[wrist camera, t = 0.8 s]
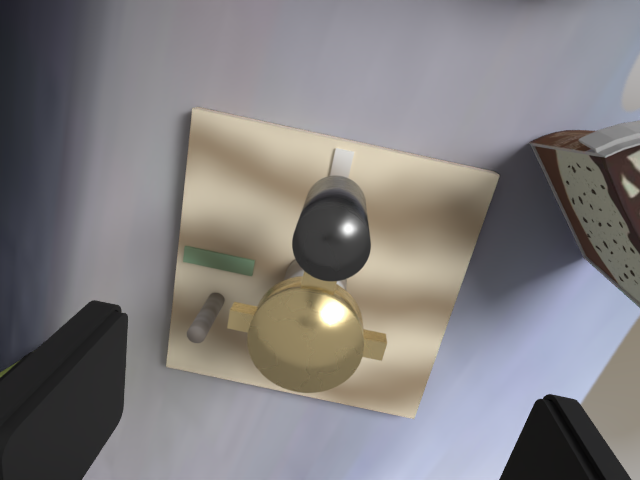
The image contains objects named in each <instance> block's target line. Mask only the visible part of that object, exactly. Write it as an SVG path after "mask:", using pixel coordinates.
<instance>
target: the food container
mask: <svg viewBox="0 0 640 480" xmlns="http://www.w3.org/2000/svg"><path fill="white" fill-rule="evenodd" d="M529 143H530V145H531V147H532V149H533V151H534V154H535V156H536V158H537V160H538V162H539V164H540V166H541V168H542V171H543V173H544V175H545V177H546V179H547V181H548V183H549V185H550V188H551V190H552V192H553V194H554V196H555V198H556V200H557V202H558V204H559V207H560V209H561V211H562V213H563V215H564V217H565V219H566V221H567V224H568V226H569V228H570V230H571V232H572V234H573V236H574V238H575V241H576V243H577V245H578V247H579V249H580V251H581V253H582V255H583V258H584V259H586V260H587V261H588V262H589V263H590V264H591V265H592V266H593V267H595V268H596V269H597V270H598V271H599V272H600V273H601V274H602V275H604V276H605V277H606V278H607V279H608V280H609V281H610V282H611V283H613V284H614V285H615V286H616V287H617V288H618V289H619V290H620V291H622V292H623V293H624V294H625V295H626V296H627V297H628V298H629V299H631V300H632V301H633V302H634V303H635V304H636V305H637V306H638V307H640V121H634V122H628V123H621V124H617V125H614V126H611V127H607V128H604V129H601V130H598V131H586V130H566V131H560V132H554V133H551V134H548V135H545V136H542V137H540V138H537V139H535V140H533V141H531V142H529Z"/></svg>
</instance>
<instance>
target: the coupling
mask: <svg viewBox="0 0 640 480" xmlns="http://www.w3.org/2000/svg"><path fill="white" fill-rule="evenodd" d="M292 249H293V254H294V257H295V259H296V261H297V263H298V264H299V266H300V267H301V268H302V269H303V270H304V274H303V276H298V277H293V278H289V279H286V280H283V281H281V282H279V283H277V284H276V285H274V286H273V287H271V288H270V289H269V290H268V291H267V292H266V293H265V294H264V296H263V297H262V298H261V300H260V302H259V304H258V306H252V305H248V304H243V303H238V302H234V303H233V305H232V307H231V309H230V313H229V319H228V326H227V328H228V329H233V330H238V331H242V332H247V333H248V335H247V345H248V350H249V354H250V357H251V359H252V361H253V363H254V365H255V366H256V368H257V369H258V370H259V371H260V372H261V374H262V375H263V376H265V377H266V378H267V379H268V380H269V381H271V382H272V383H274V384H276V385H278V386H280V387H282V388H284V389H287V390H291V391H294V392H301V393H317V392H323V391H326V390H330V389H332V388H335V387H337V386H339V385H340V384H342V383H344V382H345V381H346V380H348V379H349V378H350V377H351V376H352V375H353V374H354V372H355V371H356V370H357V368H358V366H359V364H360V362H361V360H362V357H365V358H370V359H375V360H379V361H382V359H383V356H384V352H385V349H386V346H387V338H386V334H384V333H380V332H375V331H370V330H365V329H363V319H362V315H361V311H360V309H359V306H358V305H357V303H356V301H355V300H354V299H353V297H352V296H351V295H350V294H349V293H348V292H347V291H346V290H345V289H344V288H342V287H341V286H339V285H338V284H336V283H337V281H341V280H345V279H347V278H350V277H352V276H353V275H355V274H356V273H358V272H359V271H360V270H361V269H362V268H363V267H364V265H365V264H366V262H367V260H368V258H369V255H370V250H371V240H370V232H369V224H368V215H367V207H366V200H365V196H364V193H363V191H362V189H361V188H360V187H359V186H358V185H357V183H355V182H354V181H353V180H351V179H349V178H347V177H344V176H337V175H334V176H328V177H325V178H322V179H320V180H319V181H317V182H316V183H315V184H314V185H313V186H312V187H311V188H310V190H309V192H308V194H307V197H306V200H305V202H304V205H303V208H302V211H301V214H300V217H299V220H298V223H297V225H296V228H295V231H294V234H293V239H292Z"/></svg>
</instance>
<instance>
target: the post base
mask: <svg viewBox="0 0 640 480" xmlns="http://www.w3.org/2000/svg"><path fill="white" fill-rule="evenodd" d="M334 175H337V176H344V177H347V178H349V179H351V180H353V181H354V182H355V183H357V185H358V186H359V187H360V188H361V189H362V191H363V193H364V196H365V200H366V207H367V215H368V224H369V232H370V240H371V250H370V255H369V258H368V260H367V262H366V264H365V265H364V267H363V268H362V269H361V270H360V271H359V272H358V273H356V274H355V275H353V276H352V277H350V278H347V279H345V280H341V281H337V283H336V284H338V285H339V286H341V287H342V288H344V289H345V290H346V291H347V292H348V293H349V294H350V295H351V296H352V297H353V299H354V300H355V301H356V303H357V305H358V306H359V309H360V311H361V315H362V319H363V329H365V330H370V331H375V332H380V333H384V334H386V338H387V346H386V349H385V352H384V356H383V359H382V361H379V360H375V359H370V358H365V357H362V360H361V362H360V364H359V366H358V368H357V370H356V371H355V372H354V374H353V375H352V376H351V377H350V378H349V379H348V380H346V381H345V382H344V383H342V384H340V385H339V386H337V387H335V388H332V389H330V390H326V391H323V392H317V393H301V392H294V391H291V390H287V389H284V388H282V387H280V386H278V385H276V384H274V383H272V382H271V381H269V380H268V379H267V378H266V377H265V376H263V375H262V374H261V372H260V371H259V370H258V369H257V368H256V366H255V365H254V363H253V361H252V359H251V357H250V354H249V350H248V345H247V335H248V333H247V332H242V331H238V330H233V329H228V328H227V326H228V319H229V313H230V309H231V307H232V305H233V303H234V302H238V303H243V304H248V305H252V306H258V304H259V302H260V300H261V298H262V297H263V296H264V294H265V293H266V292H267V291H268V290H269V289H270V288H271V287H273V286H274V285H276V284H277V283H279V282H281V281H283V280H286V279H289V278H293V277H298V276H303V274H304V270H303V269H302V268H301V267H300V266H299V264H298V263H297V261H296V259H295V257H294V254H293V249H292V239H293V234H294V231H295V228H296V225H297V223H298V220H299V217H300V214H301V211H302V208H303V205H304V202H305V200H306V197H307V194H308V192H309V190H310V188H311V187H312V186H313V185H314V184H315V183H316V182H317V181H319V180H320V179H322V178H325V177H328V176H334ZM499 176H500V175H499V174H497V173H496V172H494V171H490V170H485V169H481V168H476V167H471V166H467V165H462V164H458V163H453V162H448V161H444V160H439V159H435V158H430V157H425V156H421V155H416V154H412V153H407V152H403V151H398V150H393V149H389V148H384V147H380V146H375V145H370V144H366V143H361V142H357V141H352V140H347V139H343V138H338V137H334V136H329V135H324V134H320V133H315V132H311V131H306V130H302V129H297V128H292V127H288V126H283V125H279V124H274V123H269V122H265V121H260V120H256V119H251V118H246V117H242V116H237V115H233V114H228V113H224V112H219V111H214V110H210V109H205V108H201V107H196V108H192V117H191V127H190V137H189V146H188V156H187V166H186V176H185V186H184V196H183V206H182V215H181V225H180V235H179V245H178V255H177V265H176V275H175V284H174V294H173V304H172V314H171V324H170V334H169V344H168V353H167V363H166V367H169V368H174V369H179V370H183V371H188V372H193V373H198V374H202V375H207V376H212V377H217V378H221V379H226V380H231V381H236V382H241V383H245V384H250V385H255V386H260V387H264V388H269V389H274V390H279V391H283V392H288V393H293V394H298V395H302V396H307V397H312V398H317V399H321V400H326V401H331V402H336V403H341V404H345V405H350V406H355V407H360V408H364V409H369V410H374V411H379V412H383V413H388V414H393V415H398V416H402V417H407V418H412V419H414V418H415V415H416V412H417V410H418V407H419V404H420V401H421V398H422V395H423V392H424V390H425V387H426V384H427V381H428V378H429V375H430V373H431V370H432V367H433V364H434V361H435V358H436V356H437V353H438V350H439V347H440V344H441V341H442V338H443V336H444V333H445V330H446V327H447V324H448V321H449V319H450V316H451V313H452V310H453V307H454V304H455V301H456V299H457V296H458V293H459V290H460V287H461V284H462V282H463V279H464V276H465V273H466V270H467V267H468V265H469V262H470V259H471V256H472V253H473V250H474V247H475V245H476V242H477V239H478V236H479V233H480V230H481V228H482V225H483V222H484V219H485V216H486V213H487V211H488V208H489V205H490V202H491V199H492V196H493V193H494V191H495V188H496V185H497V182H498V179H499Z"/></svg>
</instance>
